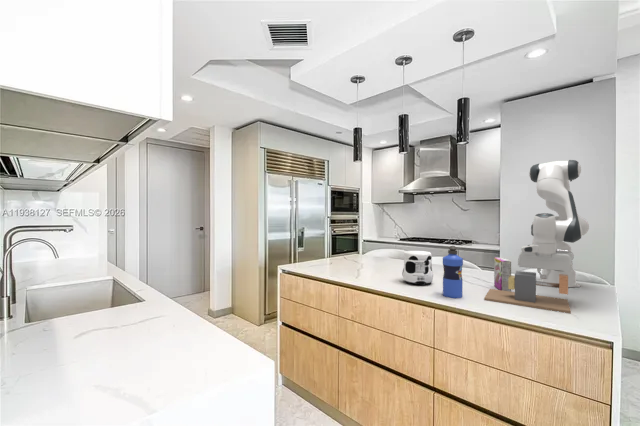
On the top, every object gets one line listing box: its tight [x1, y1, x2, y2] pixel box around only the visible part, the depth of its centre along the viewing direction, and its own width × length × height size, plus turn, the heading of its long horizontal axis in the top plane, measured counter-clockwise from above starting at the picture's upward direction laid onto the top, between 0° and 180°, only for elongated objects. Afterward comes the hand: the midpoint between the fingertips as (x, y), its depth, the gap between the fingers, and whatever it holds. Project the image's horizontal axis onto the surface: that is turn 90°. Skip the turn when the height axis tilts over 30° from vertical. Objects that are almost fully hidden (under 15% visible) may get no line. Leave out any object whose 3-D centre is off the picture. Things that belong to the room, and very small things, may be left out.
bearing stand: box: [483, 270, 572, 314], centre depth 144 cm, size 20×32×13 cm, turn 54°
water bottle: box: [442, 245, 464, 299], centre depth 153 cm, size 9×9×25 cm
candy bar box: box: [493, 256, 512, 292], centre depth 164 cm, size 11×5×16 cm, turn 168°
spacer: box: [508, 274, 515, 291], centre depth 147 cm, size 6×2×6 cm, turn 144°
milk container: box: [401, 250, 434, 285], centre depth 179 cm, size 17×17×18 cm
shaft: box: [503, 274, 569, 295], centre depth 142 cm, size 4×24×8 cm, turn 54°
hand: (543, 278), depth 140 cm, fingers closed
